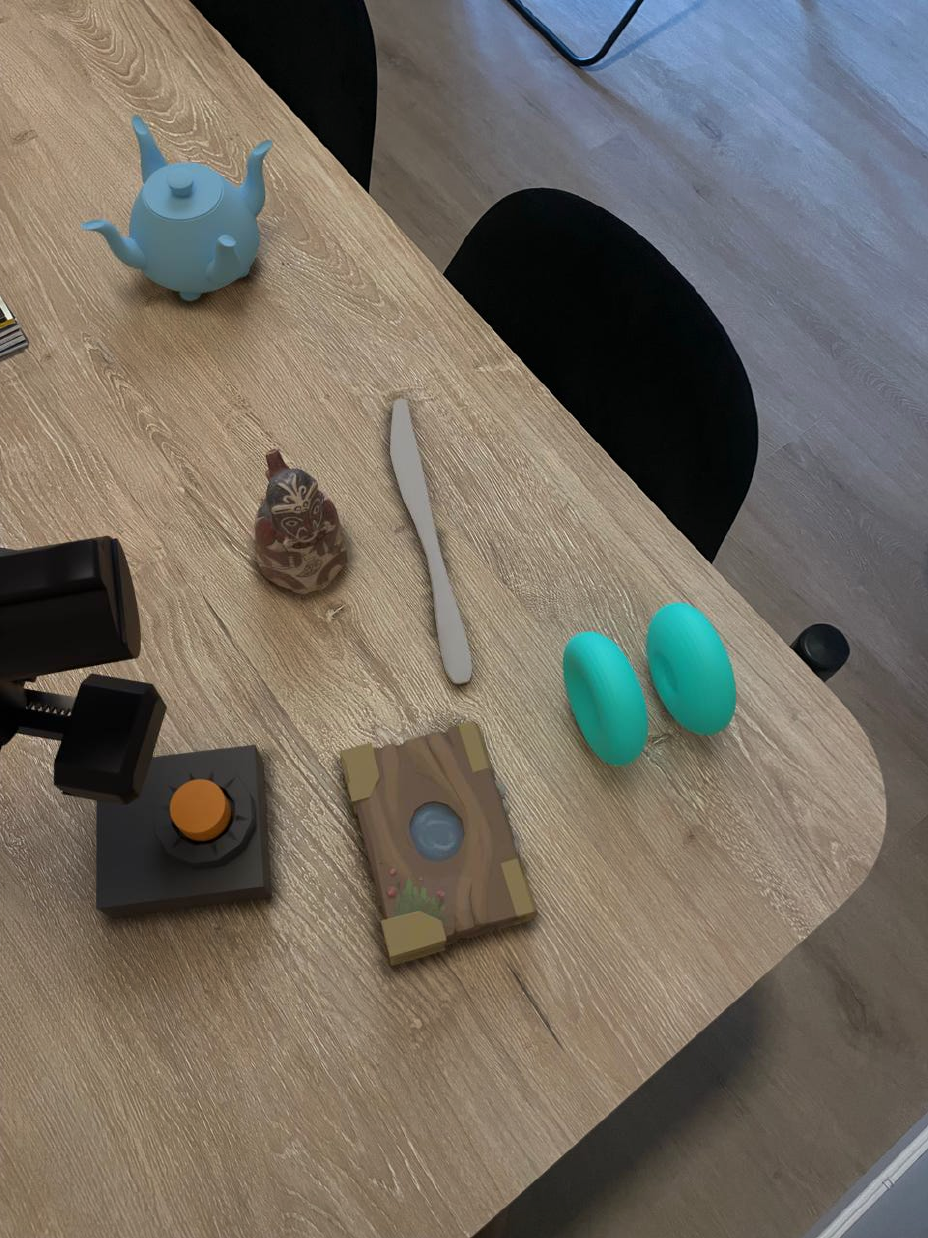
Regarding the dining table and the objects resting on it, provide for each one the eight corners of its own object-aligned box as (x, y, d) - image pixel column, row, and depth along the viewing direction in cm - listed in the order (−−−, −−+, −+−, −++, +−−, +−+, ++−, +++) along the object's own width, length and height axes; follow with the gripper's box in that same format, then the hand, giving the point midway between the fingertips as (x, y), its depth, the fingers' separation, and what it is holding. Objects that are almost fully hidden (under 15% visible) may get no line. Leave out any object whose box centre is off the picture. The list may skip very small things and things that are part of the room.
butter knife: (437, 686, 82) (475, 678, 82) (379, 401, 93) (413, 395, 93) (438, 689, 82) (476, 681, 83) (380, 405, 94) (413, 399, 94)
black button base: (112, 919, 75) (88, 904, 69) (112, 780, 79) (89, 755, 73) (272, 898, 76) (260, 881, 70) (263, 762, 80) (251, 736, 74)
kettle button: (177, 844, 71) (170, 836, 69) (176, 792, 73) (168, 782, 71) (232, 837, 72) (226, 829, 70) (229, 785, 73) (224, 775, 71)
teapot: (288, 226, 102) (275, 137, 92) (248, 334, 96) (230, 251, 87) (157, 201, 102) (131, 111, 93) (110, 307, 97) (77, 222, 88)
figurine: (272, 605, 85) (250, 530, 74) (246, 531, 88) (221, 448, 77) (358, 577, 86) (349, 499, 75) (330, 505, 89) (317, 420, 78)
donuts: (550, 670, 84) (565, 616, 74) (667, 631, 85) (695, 574, 76) (600, 788, 80) (622, 746, 71) (721, 745, 81) (758, 699, 72)
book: (341, 768, 80) (336, 747, 75) (483, 730, 81) (486, 707, 77) (391, 966, 74) (389, 957, 69) (543, 921, 76) (551, 908, 71)
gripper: (163, 545, 53) (216, 665, 67) (-202, 484, 54) (-73, 616, 68) (93, 759, 48) (166, 840, 63) (-306, 689, 49) (-144, 785, 63)
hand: (28, 762), depth 64 cm, fingers open, 9 cm apart
